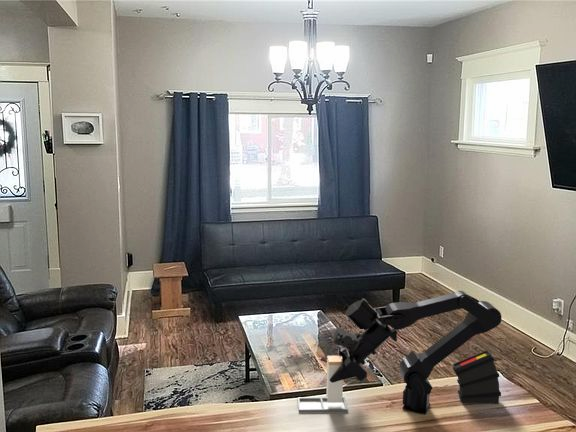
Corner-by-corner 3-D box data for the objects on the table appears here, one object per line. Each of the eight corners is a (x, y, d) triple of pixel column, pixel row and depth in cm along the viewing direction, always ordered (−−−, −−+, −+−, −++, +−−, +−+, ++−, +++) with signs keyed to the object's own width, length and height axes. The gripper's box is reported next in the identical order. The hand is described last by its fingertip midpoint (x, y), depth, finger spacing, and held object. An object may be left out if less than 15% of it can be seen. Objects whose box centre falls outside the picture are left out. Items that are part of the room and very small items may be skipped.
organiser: (344, 402, 166) (344, 397, 166) (347, 414, 159) (348, 409, 159) (297, 402, 165) (297, 397, 165) (298, 414, 159) (298, 409, 158)
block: (340, 395, 164) (341, 355, 162) (342, 402, 160) (343, 361, 158) (326, 395, 164) (327, 355, 162) (327, 402, 160) (328, 361, 158)
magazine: (511, 399, 165) (492, 354, 163) (468, 416, 167) (448, 372, 164) (506, 393, 169) (488, 349, 167) (464, 410, 170) (445, 366, 168)
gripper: (345, 308, 167) (307, 345, 169) (355, 333, 149) (312, 373, 150) (372, 334, 169) (333, 370, 170) (385, 361, 151) (341, 401, 152)
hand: (329, 377), depth 161 cm, fingers closed on block, 4 cm apart
